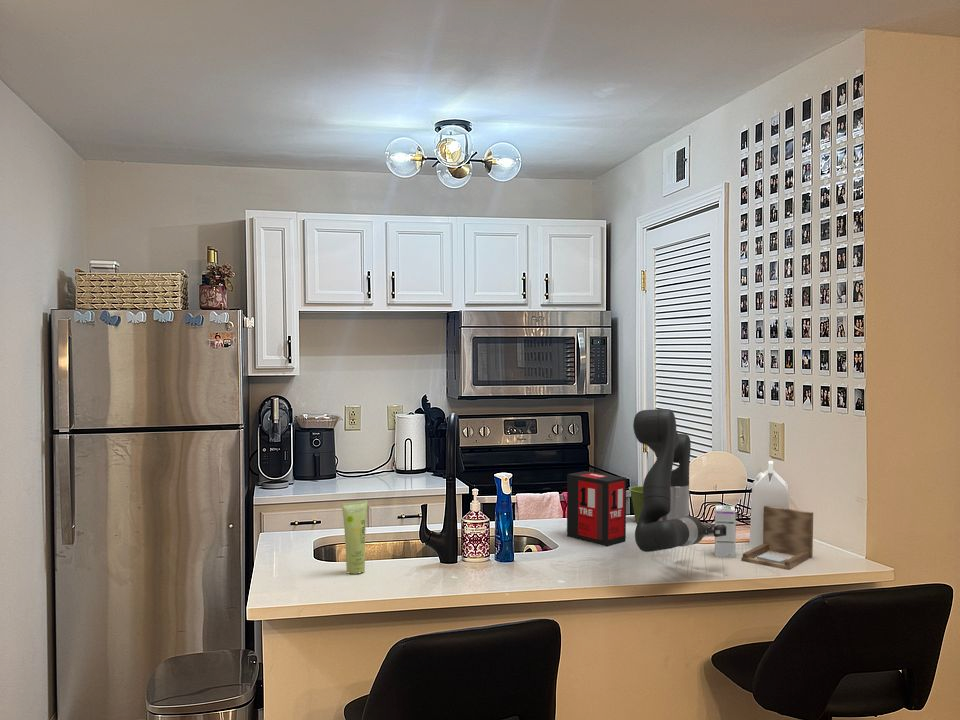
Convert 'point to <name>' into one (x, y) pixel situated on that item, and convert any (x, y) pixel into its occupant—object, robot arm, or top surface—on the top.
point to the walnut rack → (784, 537)
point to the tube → (355, 535)
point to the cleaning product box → (596, 508)
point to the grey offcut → (772, 558)
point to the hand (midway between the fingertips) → (708, 527)
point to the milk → (766, 500)
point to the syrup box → (726, 544)
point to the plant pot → (637, 500)
